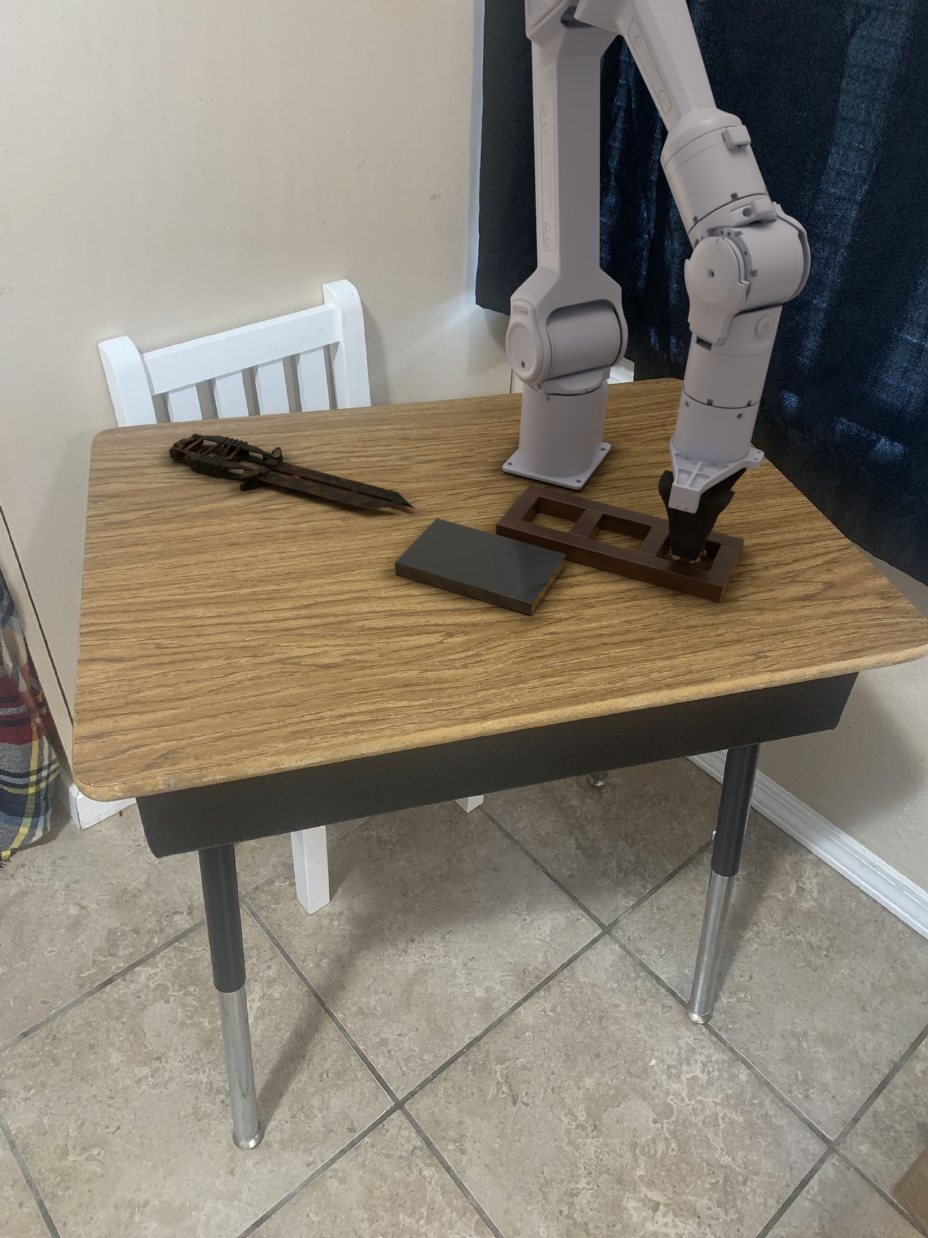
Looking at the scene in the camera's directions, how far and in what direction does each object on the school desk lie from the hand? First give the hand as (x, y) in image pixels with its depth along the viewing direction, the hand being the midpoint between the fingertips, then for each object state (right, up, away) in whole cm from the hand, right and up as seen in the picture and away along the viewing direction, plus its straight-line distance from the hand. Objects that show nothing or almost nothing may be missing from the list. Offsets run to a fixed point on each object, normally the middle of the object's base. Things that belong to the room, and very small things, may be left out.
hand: (690, 544), depth 81 cm
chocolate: (0, -2, +1) cm, 2 cm away
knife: (-35, +7, +11) cm, 37 cm away
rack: (-5, 0, +3) cm, 6 cm away
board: (-17, -2, 0) cm, 17 cm away
